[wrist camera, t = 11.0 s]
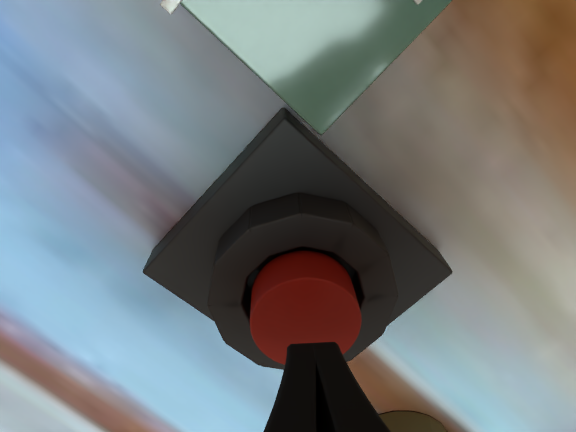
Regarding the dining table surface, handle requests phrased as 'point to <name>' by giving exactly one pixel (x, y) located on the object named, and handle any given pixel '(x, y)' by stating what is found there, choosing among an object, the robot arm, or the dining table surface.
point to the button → (303, 304)
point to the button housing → (292, 237)
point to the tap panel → (315, 44)
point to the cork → (411, 422)
